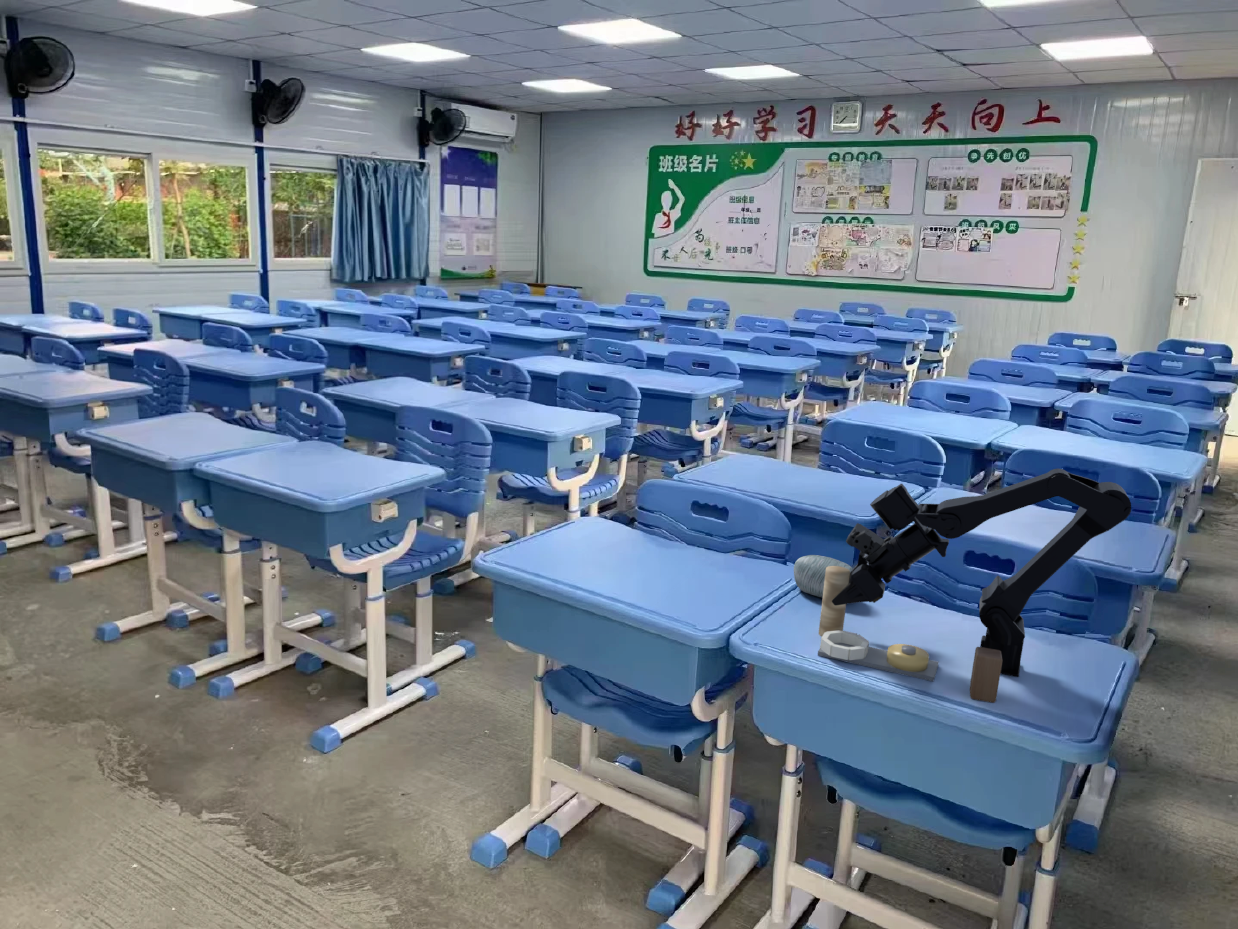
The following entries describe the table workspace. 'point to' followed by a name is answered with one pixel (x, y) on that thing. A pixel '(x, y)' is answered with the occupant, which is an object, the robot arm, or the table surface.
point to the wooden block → (985, 674)
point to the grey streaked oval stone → (814, 573)
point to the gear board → (878, 655)
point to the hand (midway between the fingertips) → (836, 594)
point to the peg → (833, 586)
